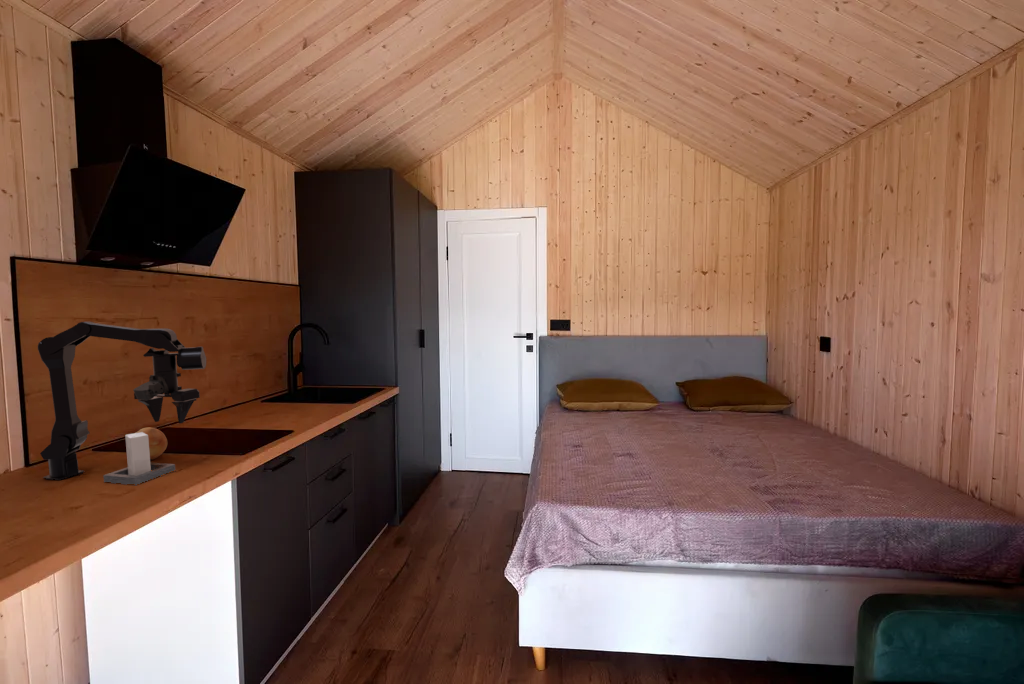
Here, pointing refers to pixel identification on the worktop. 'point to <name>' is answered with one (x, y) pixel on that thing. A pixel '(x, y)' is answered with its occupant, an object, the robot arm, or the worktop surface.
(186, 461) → the worktop surface
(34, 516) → the worktop surface
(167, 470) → the silver metal square frame
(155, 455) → the onion
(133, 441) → the skincare box
